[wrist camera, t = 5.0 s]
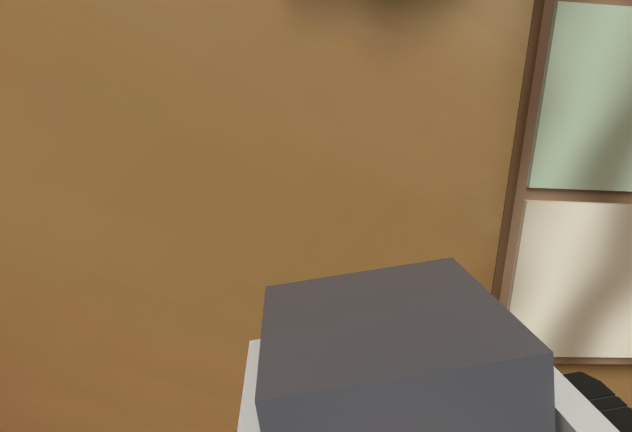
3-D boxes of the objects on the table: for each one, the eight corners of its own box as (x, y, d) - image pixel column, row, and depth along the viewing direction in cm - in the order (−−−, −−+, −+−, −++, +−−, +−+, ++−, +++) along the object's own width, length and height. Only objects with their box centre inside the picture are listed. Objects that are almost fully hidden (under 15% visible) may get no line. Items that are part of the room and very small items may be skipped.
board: (482, 354, 28) (492, 366, 27) (570, -241, 21) (588, -262, 20) (660, 355, 29) (677, 367, 28) (798, -214, 22) (829, -233, 21)
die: (294, 448, 17) (300, 645, 11) (265, 286, 15) (254, 409, 9) (471, 418, 17) (576, 596, 11) (460, 256, 16) (572, 356, 9)
